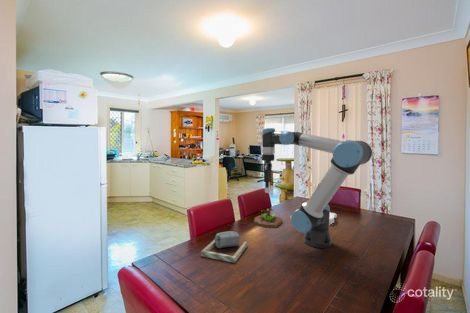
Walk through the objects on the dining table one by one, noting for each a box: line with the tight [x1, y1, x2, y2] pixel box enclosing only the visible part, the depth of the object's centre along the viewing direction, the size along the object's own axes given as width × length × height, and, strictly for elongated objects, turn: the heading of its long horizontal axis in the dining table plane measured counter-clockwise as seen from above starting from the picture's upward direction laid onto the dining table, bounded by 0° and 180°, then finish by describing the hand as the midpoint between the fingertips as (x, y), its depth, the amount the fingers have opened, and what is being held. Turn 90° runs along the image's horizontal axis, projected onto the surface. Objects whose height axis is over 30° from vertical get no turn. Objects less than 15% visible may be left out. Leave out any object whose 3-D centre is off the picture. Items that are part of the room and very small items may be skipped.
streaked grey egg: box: [214, 230, 240, 249], centre depth 134 cm, size 14×10×10 cm
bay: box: [200, 238, 248, 264], centre depth 129 cm, size 18×20×2 cm
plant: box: [253, 207, 284, 229], centre depth 173 cm, size 20×20×11 cm
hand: (267, 192), depth 149 cm, fingers closed
